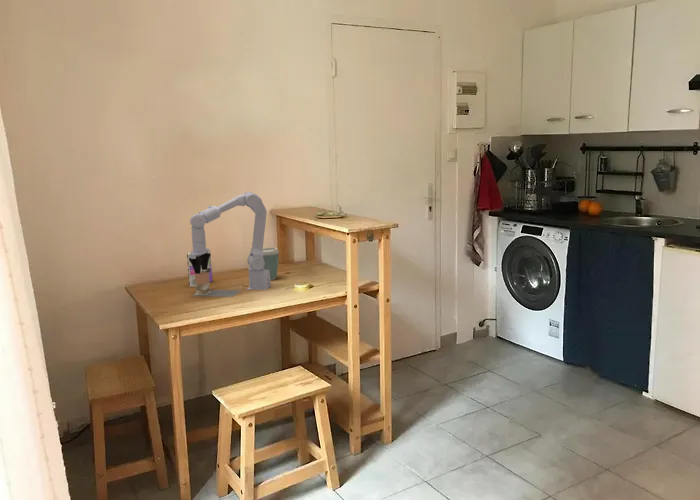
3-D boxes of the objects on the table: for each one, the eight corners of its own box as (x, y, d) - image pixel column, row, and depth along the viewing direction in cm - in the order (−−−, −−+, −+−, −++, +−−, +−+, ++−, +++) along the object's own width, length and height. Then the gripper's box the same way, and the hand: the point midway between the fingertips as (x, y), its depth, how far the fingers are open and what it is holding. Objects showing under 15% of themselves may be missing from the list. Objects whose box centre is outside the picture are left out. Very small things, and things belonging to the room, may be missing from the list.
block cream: (209, 291, 265) (209, 282, 264) (205, 294, 260) (205, 284, 260) (200, 291, 266) (199, 281, 265) (196, 294, 261) (195, 284, 260)
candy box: (200, 288, 275) (197, 253, 272) (188, 287, 276) (186, 253, 273) (213, 281, 288) (210, 248, 285) (201, 281, 289) (199, 248, 286)
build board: (241, 291, 266) (241, 290, 266) (232, 298, 255) (232, 296, 255) (201, 291, 269) (201, 289, 269) (191, 297, 258) (191, 296, 258)
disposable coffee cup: (271, 282, 282) (269, 251, 280) (254, 280, 288) (252, 249, 285) (284, 277, 291) (283, 247, 289) (267, 275, 297) (266, 246, 294)
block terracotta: (209, 282, 264) (208, 272, 263) (205, 284, 260) (204, 274, 259) (199, 281, 265) (199, 272, 264) (195, 284, 260) (194, 274, 260)
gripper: (197, 238, 266) (199, 268, 269) (183, 244, 252) (185, 275, 255) (211, 238, 265) (214, 268, 268) (198, 244, 251) (201, 275, 254)
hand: (201, 271), depth 261 cm, fingers open, 7 cm apart
